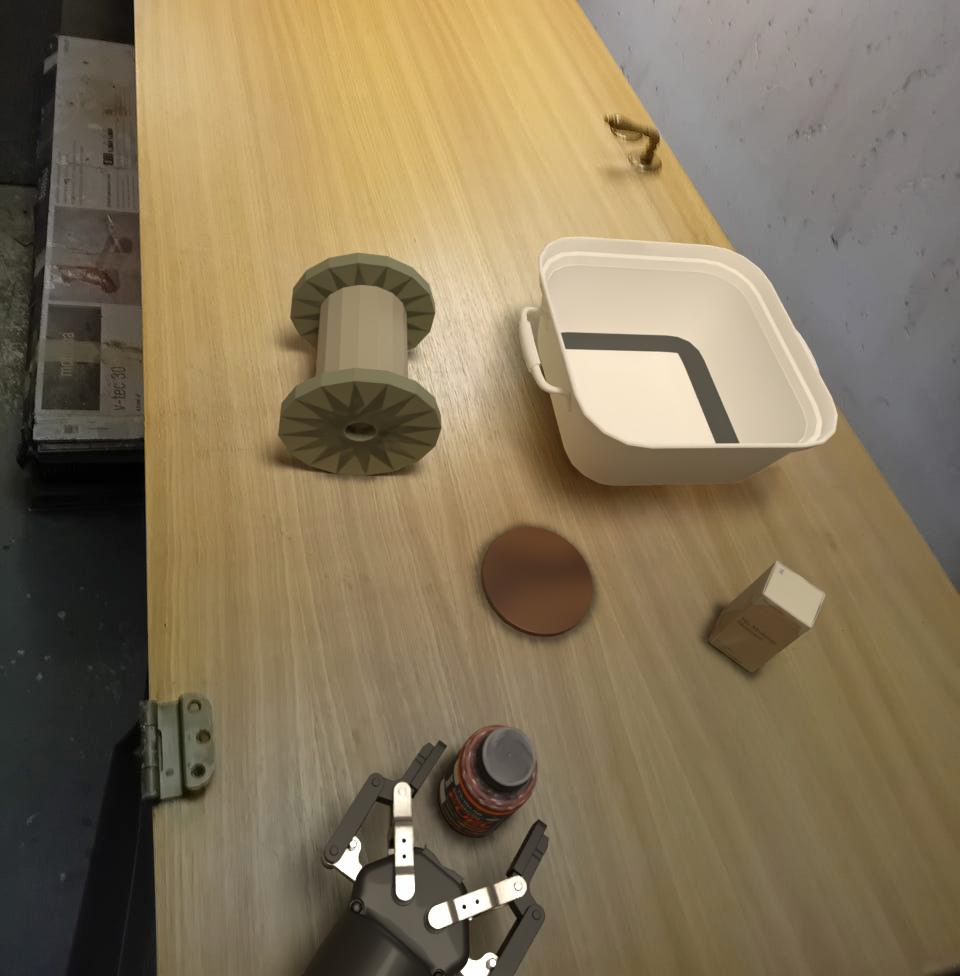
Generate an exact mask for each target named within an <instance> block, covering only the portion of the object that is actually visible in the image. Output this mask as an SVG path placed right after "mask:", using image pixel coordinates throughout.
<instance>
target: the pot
mask: <svg viewBox="0 0 960 976" xmlns="http://www.w3.org/2000/svg"><path fill="white" fill-rule="evenodd" d="M537 263H538V264H537V265H538V266H537V267H538V281H539V282H538V283H539V289H540V292H541V302H540V303H541V305H540V307H539V306H538V307H537V306H525V307H524V308H522V309H521V311H520V313H519V316H518V317H519V318H518V322H519V323H518V325H517V333H518V339H519V343H520V349H521V352H522V356H523V359H524V362H525V365H526V367H527V370H528V372H529V373H530V374H531V375H532V378H533V380H534V381H535V383H536V385H537V386H538V387H539V388H540V389H541V390H542V391H544V392H545V393H548V394H549V396H550V400H551V404H552V408H553V412H554V415H555V419H556V422H557V423H556V424H557V426H558V427H557V428H558V431H559V435H560V438H561V442H562V446H563V449H564V451H565V453H566V455H567V457H568V459H569V462H570V463H571V465H572V466H573V467H574V468H575V469H576V470H578V472H579V473H581V475H583V477H586V478H587V479H589V480H591V481H593V482H595V483H597V484H599V485H606V486H612V487H617V486H618V487H621V486H623V487H624V486H625V487H626V486H627V487H628V486H672V485H674V486H676V485H677V486H678V485H718V484H719V485H720V484H721V485H723V484H724V485H725V484H735V483H739V482H743V481H746V480H748V479H749V478H751V477H753V476H755V475H757V474H758V473H759V472H761V471H763V470H765V469H766V468H768V467H770V466H771V465H773V464H774V463H776V462H778V461H780V460H782V458H785V457H786V456H788V455H790V454H792V453H797V452H802V451H806V450H810V449H812V448H815V447H818V446H822V445H824V444H825V443H826V442H827V441H828V440H830V438H831V437H832V436H833V435H834V434H836V431H837V427H838V426H837V424H838V418H839V414H838V411H837V408H836V405H835V402H834V399H833V397H832V394H831V392H830V391H829V389H828V387H827V385H826V383H825V381H824V380H823V378H822V376H821V373H820V368H819V367H818V364H817V361H816V359H815V357H814V355H813V353H812V351H811V349H810V347H809V345H808V344H807V342H806V340H805V339H804V337H802V335H801V333H800V332H799V330H797V329H796V327H795V325H794V323H793V321H792V319H791V318H790V315H789V314H788V312H787V310H786V308H785V306H784V304H783V302H782V300H781V298H780V297H779V294H778V293H777V291H776V290H775V287H774V285H773V284H772V282H771V281H770V279H769V278H768V277H767V276H766V274H765V272H763V270H762V269H761V268H760V267H758V266H757V265H756V264H755V263H754V262H752V261H751V260H750V259H748V257H746V256H744V255H742V254H740V253H737V252H735V251H734V250H730V249H728V248H725V247H721V246H717V245H710V244H699V243H687V242H686V243H685V242H672V241H671V242H670V241H666V242H665V241H654V240H639V239H638V240H637V239H624V238H623V239H622V238H611V237H610V238H608V237H594V236H580V235H579V236H578V235H577V236H564V237H559V238H557V239H555V240H553V241H551V242H549V243H546V244H545V245H544V246H543V248H542V250H541V252H540V253H539V255H538V256H537ZM529 314H533V315H539V323H538V334H537V346H536V342H535V338H534V333H533V329H532V325H531V321H528V315H529ZM541 366H542V370H541V368H540V367H541ZM542 371H543V373H542ZM543 374H544V375H543Z"/></svg>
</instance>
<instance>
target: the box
mask: <svg viewBox="0 0 960 976" xmlns="http://www.w3.org/2000/svg"><path fill="white" fill-rule="evenodd" d="M825 598H826V594H825V592H824V591H822V589H820V588H818V587H817V586H815V585H814V584H812V583H811V582H809V580H807V579H805V578H804V577H802V575H800V574H798V573H797V572H795V571H794V570H792V569H791V568H789V567H788V566H786V565H784V564H783V563H782V562H780V561H778V560H775V562H773V563H772V564H771V565H770V566H769V567H768V568H767V569H766V570H765V571H764V572H763V573H761V575H760V576H758V578H756V579H755V580H754V581H753V582H751V584H750V585H749V586H747V588H745V589H744V590H743V591H742V592H741V593H740V594H738V595H737V597H735V598H734V599H733V600H732V601H731V602H730V603H729V604H728V605H726V606H725V608H723V609H722V611H721V613H720V615H719V616H718V618H717V620H716V622H715V624H714V626H713V628H712V630H711V632H710V635H709V637H708V643H709V644H711V645H712V646H713V647H714V648H715V649H717V650H719V651H720V652H721V653H723V655H725V656H727V657H728V658H729V659H730V660H732V661H733V662H734V663H736V664H738V665H739V666H740V667H741V668H743V669H744V670H746V671H747V672H749V673H750V674H753V673H754V672H756V671H758V669H760V668H761V667H762V666H764V665H765V664H766V663H767V662H769V661H770V660H772V658H774V657H775V656H776V655H778V654H779V653H780V652H782V651H783V650H785V649H786V648H787V647H789V646H790V645H791V644H792V643H793V642H795V641H796V640H798V639H799V638H800V637H802V636H803V635H804V634H806V633H807V632H809V631H810V630H811V629H812V628H813V626H814V623H815V621H816V619H817V617H818V614H819V613H820V610H821V607H822V605H823V603H824V600H825Z"/></svg>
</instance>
